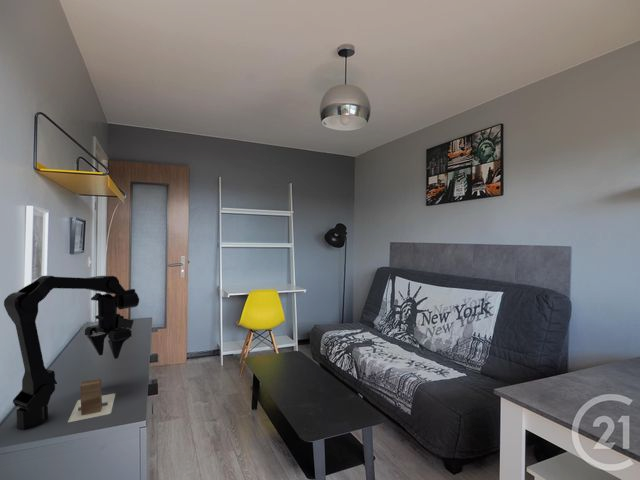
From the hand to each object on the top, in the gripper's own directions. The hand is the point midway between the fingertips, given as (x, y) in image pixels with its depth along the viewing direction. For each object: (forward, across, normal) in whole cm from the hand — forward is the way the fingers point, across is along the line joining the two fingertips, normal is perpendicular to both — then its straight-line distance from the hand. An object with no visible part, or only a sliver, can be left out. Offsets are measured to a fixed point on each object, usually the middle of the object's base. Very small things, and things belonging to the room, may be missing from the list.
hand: (108, 356), depth 128 cm
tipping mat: (+14, -6, +8) cm, 17 cm away
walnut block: (+13, -8, +10) cm, 18 cm away
